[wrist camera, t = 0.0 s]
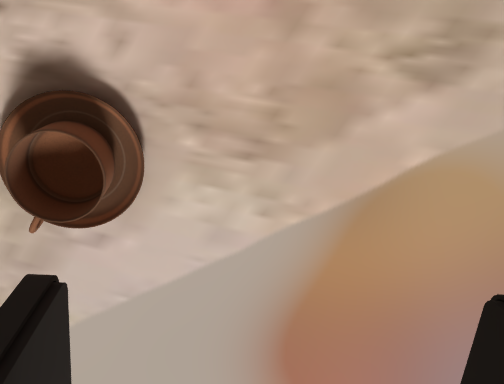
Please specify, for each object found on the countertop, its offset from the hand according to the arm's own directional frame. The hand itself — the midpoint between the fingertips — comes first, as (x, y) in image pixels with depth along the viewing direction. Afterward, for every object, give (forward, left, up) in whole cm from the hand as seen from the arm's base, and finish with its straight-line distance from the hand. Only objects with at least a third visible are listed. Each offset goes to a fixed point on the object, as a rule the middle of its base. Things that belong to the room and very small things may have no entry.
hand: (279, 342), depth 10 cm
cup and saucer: (+5, -13, -32) cm, 35 cm away
